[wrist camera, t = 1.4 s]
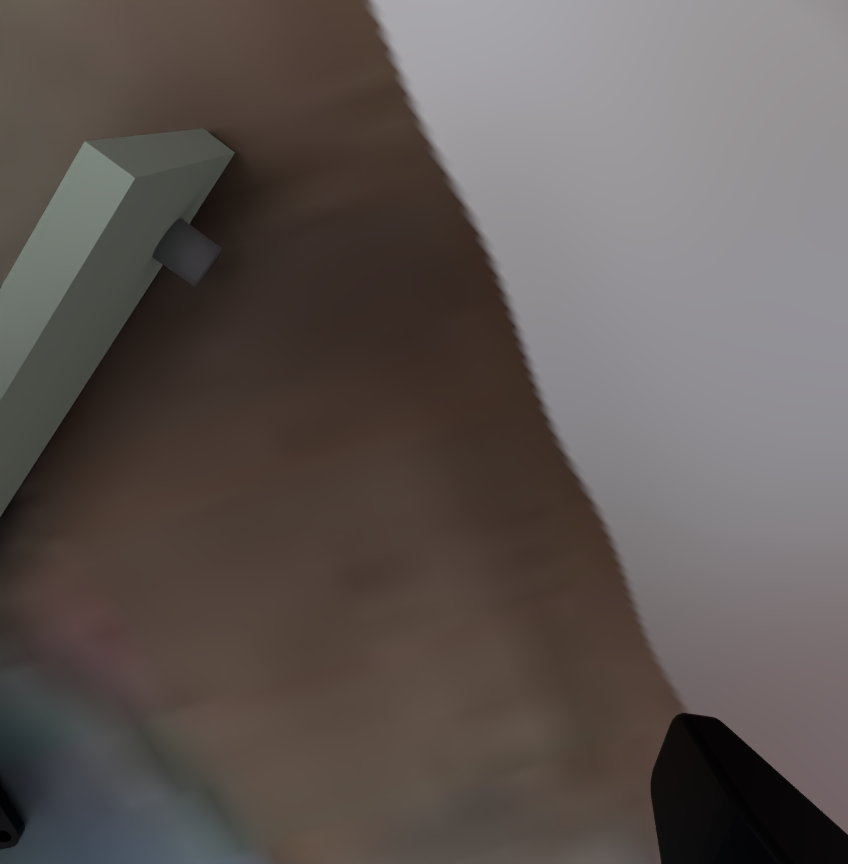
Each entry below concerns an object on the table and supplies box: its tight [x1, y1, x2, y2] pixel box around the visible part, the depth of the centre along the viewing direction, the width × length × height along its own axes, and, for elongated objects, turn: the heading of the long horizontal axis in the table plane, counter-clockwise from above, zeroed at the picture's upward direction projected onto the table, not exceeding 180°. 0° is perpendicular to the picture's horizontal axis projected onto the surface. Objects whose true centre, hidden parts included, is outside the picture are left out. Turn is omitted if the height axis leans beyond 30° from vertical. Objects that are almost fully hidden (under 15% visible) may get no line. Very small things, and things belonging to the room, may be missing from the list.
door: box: [0, 129, 235, 517], centre depth 16 cm, size 12×2×7 cm, turn 142°
